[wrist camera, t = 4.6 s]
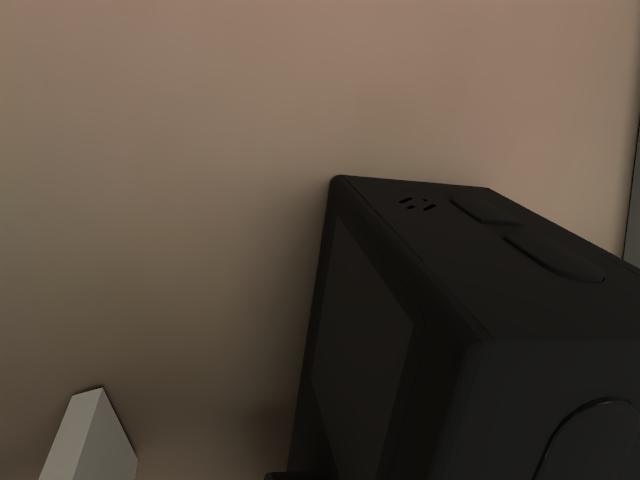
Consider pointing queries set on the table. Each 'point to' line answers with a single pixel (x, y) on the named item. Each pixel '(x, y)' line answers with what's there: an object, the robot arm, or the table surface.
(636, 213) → the mounting plate
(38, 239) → the table surface
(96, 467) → the robot arm
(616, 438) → the digital camera
